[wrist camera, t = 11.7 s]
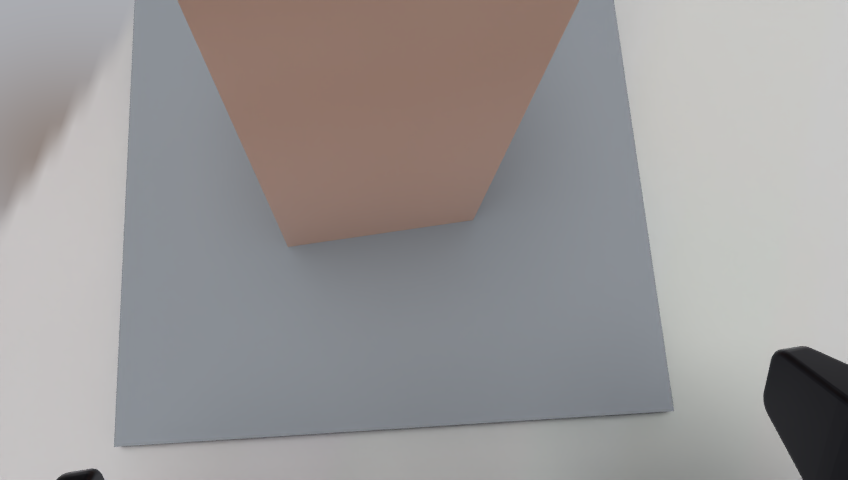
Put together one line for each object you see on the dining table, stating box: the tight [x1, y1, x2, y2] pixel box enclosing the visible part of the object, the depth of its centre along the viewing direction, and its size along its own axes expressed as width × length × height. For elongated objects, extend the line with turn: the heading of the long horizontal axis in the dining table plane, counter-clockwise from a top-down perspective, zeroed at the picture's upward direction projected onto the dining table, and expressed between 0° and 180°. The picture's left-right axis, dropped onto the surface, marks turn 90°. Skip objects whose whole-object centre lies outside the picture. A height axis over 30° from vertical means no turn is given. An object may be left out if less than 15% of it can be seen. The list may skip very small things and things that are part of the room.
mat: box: [114, 0, 674, 447], centre depth 20 cm, size 14×14×1 cm
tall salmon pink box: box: [178, 0, 579, 247], centre depth 14 cm, size 5×5×12 cm
